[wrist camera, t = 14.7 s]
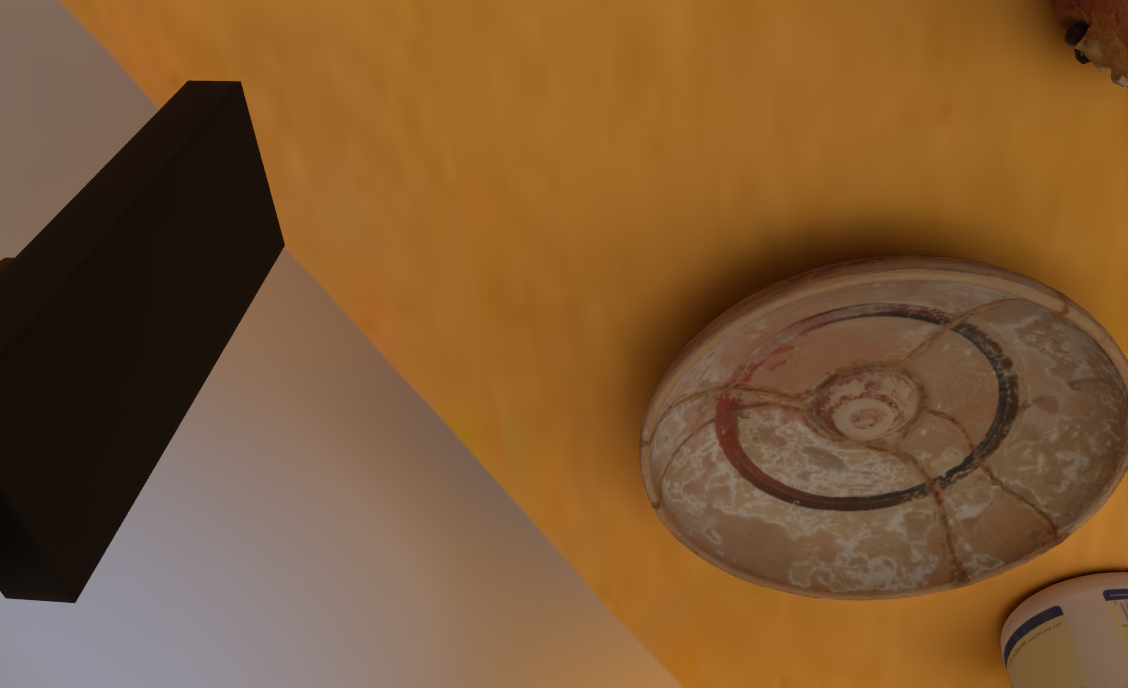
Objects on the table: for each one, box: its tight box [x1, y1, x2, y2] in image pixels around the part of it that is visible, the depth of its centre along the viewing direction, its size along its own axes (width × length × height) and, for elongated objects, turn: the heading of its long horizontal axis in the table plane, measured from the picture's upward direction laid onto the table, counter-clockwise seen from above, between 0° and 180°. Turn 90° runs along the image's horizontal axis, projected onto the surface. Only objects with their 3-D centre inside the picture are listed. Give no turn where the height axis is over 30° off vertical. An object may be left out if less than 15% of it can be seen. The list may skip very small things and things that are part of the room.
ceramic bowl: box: [640, 255, 1128, 600], centre depth 45 cm, size 23×24×5 cm
